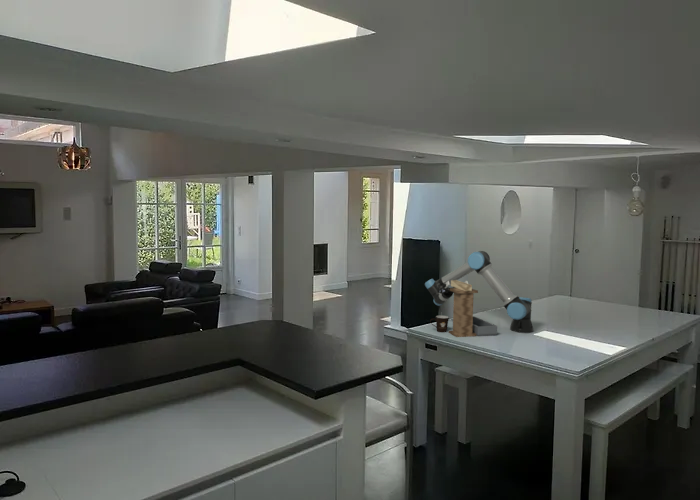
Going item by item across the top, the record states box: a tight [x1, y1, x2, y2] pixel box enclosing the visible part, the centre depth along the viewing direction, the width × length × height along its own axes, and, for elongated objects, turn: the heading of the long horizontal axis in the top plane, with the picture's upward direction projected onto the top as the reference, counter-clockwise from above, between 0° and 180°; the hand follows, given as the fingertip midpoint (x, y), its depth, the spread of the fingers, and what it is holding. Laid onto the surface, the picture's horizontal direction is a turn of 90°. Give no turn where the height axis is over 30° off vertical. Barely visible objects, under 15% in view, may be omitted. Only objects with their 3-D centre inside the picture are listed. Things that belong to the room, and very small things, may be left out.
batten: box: [450, 280, 473, 291], centre depth 353 cm, size 4×22×4 cm, turn 15°
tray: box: [472, 315, 498, 337], centre depth 365 cm, size 14×32×6 cm, turn 15°
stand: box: [448, 287, 479, 338], centre depth 350 cm, size 14×12×30 cm
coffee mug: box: [430, 315, 450, 333], centre depth 359 cm, size 12×9×10 cm
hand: (458, 282), depth 356 cm, fingers open, 13 cm apart
